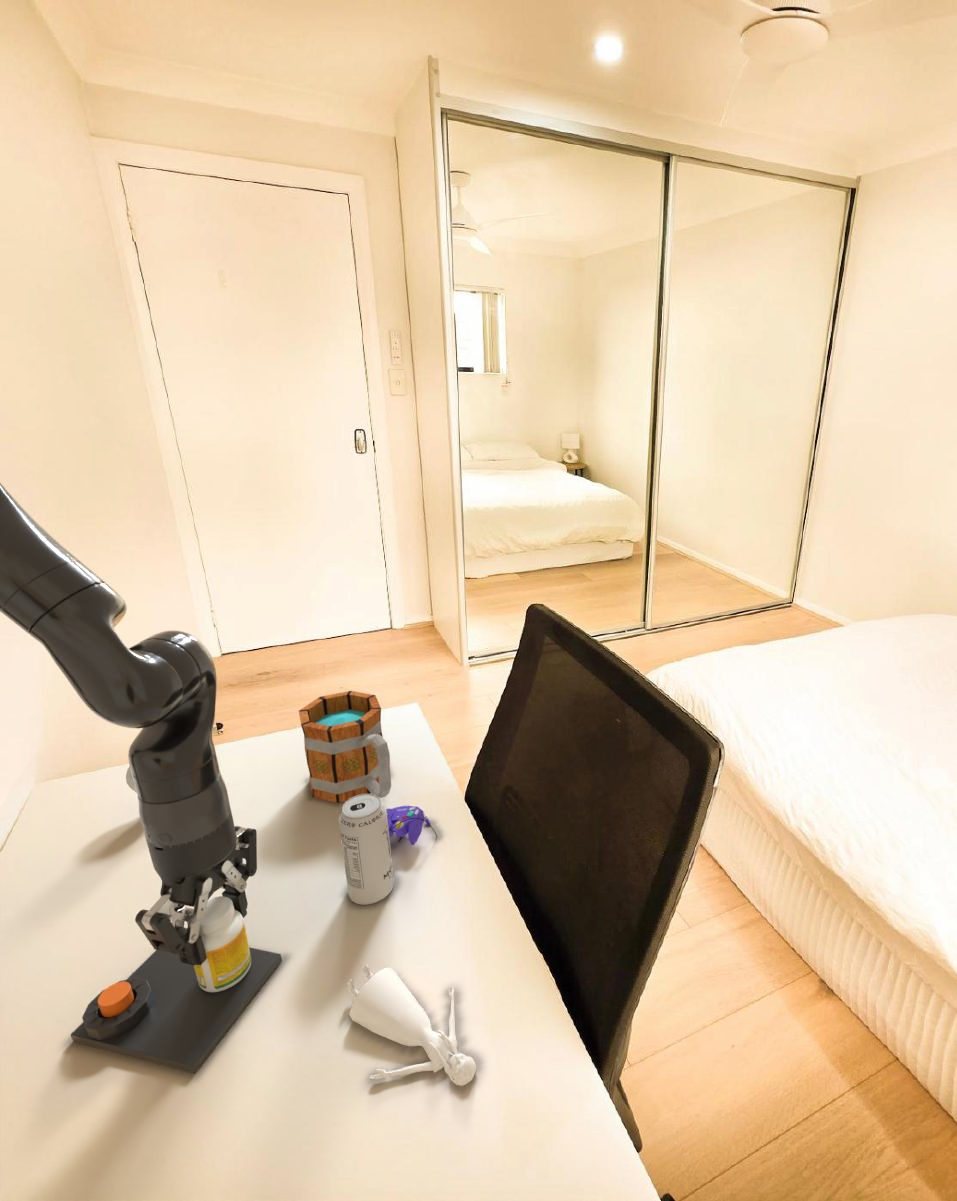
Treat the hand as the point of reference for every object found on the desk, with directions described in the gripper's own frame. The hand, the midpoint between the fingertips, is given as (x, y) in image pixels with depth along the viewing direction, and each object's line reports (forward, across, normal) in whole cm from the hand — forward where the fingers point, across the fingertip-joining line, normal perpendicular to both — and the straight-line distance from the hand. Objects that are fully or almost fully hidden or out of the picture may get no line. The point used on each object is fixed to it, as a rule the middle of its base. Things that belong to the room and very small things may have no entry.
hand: (217, 937), depth 68 cm
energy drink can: (+8, -16, +9) cm, 20 cm away
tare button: (+4, +7, -7) cm, 11 cm away
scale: (+7, +3, -3) cm, 8 cm away
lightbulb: (+8, -23, -33) cm, 41 cm away
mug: (+8, -36, -5) cm, 37 cm away
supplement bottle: (+6, 0, 0) cm, 6 cm away
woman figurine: (+8, +1, +24) cm, 25 cm away
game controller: (+8, -27, +8) cm, 29 cm away
